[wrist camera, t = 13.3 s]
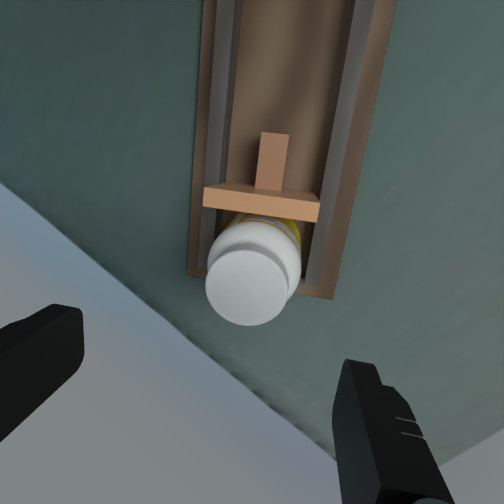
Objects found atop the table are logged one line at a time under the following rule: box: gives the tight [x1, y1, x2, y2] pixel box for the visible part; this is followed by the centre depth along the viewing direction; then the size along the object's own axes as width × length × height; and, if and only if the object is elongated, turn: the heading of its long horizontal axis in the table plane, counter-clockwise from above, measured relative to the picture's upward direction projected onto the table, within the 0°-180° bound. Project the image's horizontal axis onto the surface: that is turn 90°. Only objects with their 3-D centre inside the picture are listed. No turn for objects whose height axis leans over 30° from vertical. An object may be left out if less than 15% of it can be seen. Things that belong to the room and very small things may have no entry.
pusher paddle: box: [203, 132, 320, 223], centre depth 22 cm, size 7×5×8 cm
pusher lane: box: [186, 0, 397, 300], centre depth 22 cm, size 14×26×9 cm, turn 173°
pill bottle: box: [205, 212, 301, 326], centre depth 22 cm, size 6×6×11 cm
